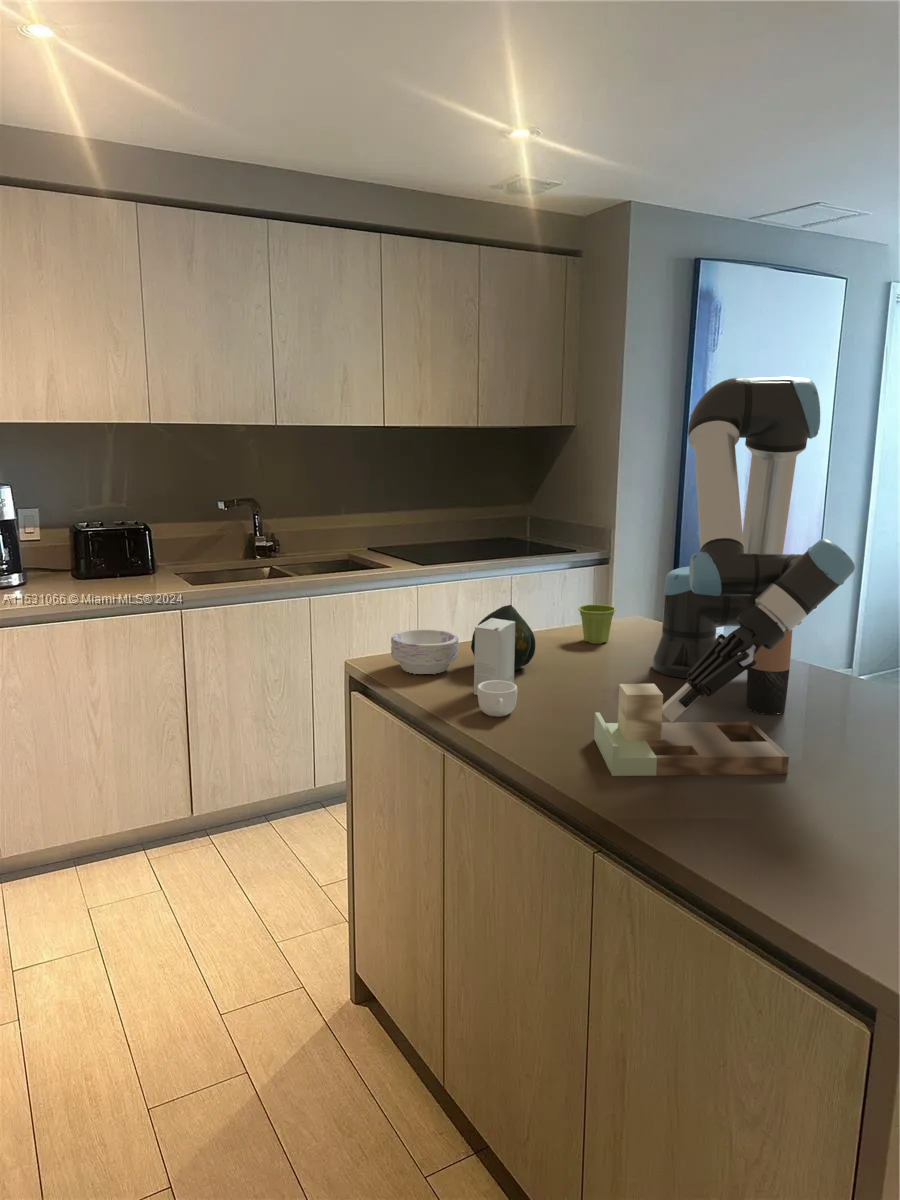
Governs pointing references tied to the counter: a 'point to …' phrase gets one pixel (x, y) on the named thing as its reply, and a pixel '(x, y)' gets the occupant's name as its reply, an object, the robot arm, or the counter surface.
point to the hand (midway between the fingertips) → (665, 715)
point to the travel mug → (769, 678)
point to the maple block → (640, 712)
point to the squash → (522, 635)
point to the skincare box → (494, 651)
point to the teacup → (497, 697)
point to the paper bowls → (424, 650)
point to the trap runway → (717, 750)
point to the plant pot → (596, 622)
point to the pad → (623, 751)
